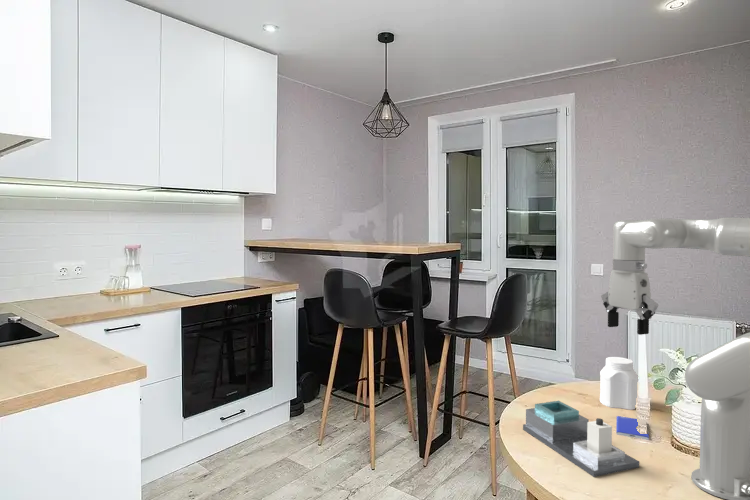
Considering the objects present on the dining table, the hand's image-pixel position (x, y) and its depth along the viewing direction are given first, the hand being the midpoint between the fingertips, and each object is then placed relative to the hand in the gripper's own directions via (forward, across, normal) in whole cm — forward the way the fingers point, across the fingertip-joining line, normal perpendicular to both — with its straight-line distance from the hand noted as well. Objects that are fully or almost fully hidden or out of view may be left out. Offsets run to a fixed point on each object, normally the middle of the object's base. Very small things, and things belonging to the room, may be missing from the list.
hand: (627, 330), depth 124 cm
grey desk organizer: (+32, +5, +12) cm, 35 cm away
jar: (+32, +26, -24) cm, 48 cm away
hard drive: (+33, +9, -12) cm, 36 cm away
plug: (+31, -3, +12) cm, 33 cm away
